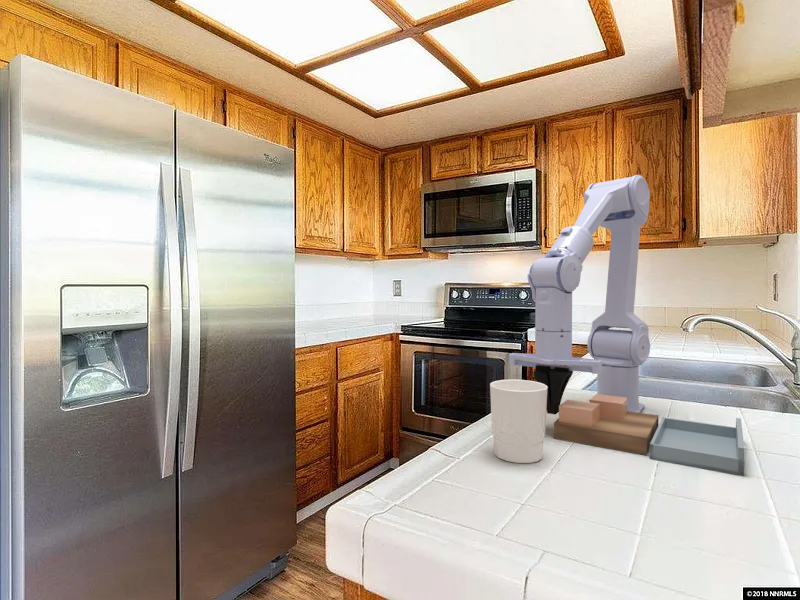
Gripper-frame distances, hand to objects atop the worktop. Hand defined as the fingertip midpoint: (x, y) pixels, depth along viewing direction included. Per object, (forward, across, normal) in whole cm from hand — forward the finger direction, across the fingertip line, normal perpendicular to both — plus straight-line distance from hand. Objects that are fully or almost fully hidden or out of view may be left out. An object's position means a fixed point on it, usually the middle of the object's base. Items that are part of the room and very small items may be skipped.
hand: (552, 412), depth 76 cm
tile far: (+1, +7, +7) cm, 10 cm away
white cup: (+3, -1, -14) cm, 14 cm away
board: (+3, +8, +4) cm, 9 cm away
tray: (+3, +20, +4) cm, 20 cm away
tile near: (+1, +4, 0) cm, 4 cm away
